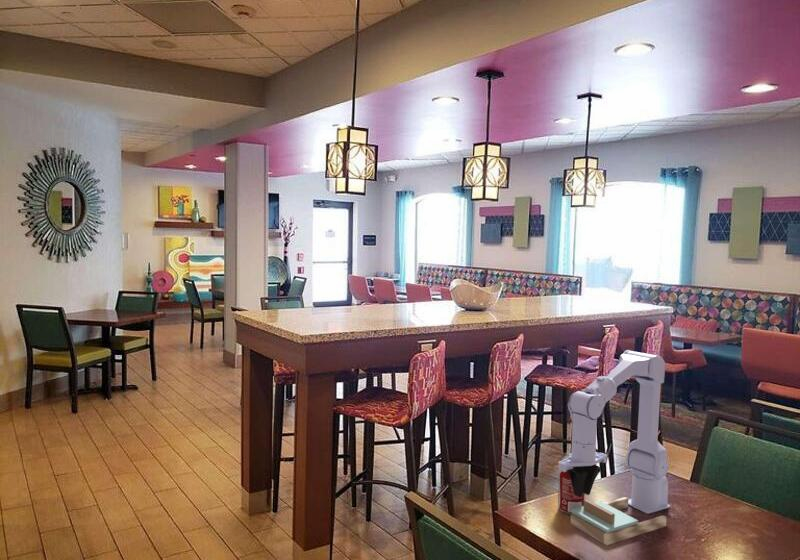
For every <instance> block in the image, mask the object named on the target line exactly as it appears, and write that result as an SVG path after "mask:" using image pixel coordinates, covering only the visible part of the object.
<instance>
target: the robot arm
mask: <svg viewBox="0 0 800 560" xmlns="http://www.w3.org/2000/svg"><path fill="white" fill-rule="evenodd" d="M665 370H666V361H665V360H664V359H663V357H662V356H660V355H659V354H650V353H645V352H638V351H635V350H632V349H627V350H624V352H623V353H622V354H620V356H619V360H618V364H617V365H616V366H615V367H614V368H613V369H612V370H611V371H610V372H609V373H608V374H607V375H606V376H605V375H602V376H600V375H598V377H596V379H595V380H594V381H592V382H591V383H590V384H589V385H588V386H586V387H585V388H584V389H583V390H582V391H581V390H578V391H575V392H573V393H572V394H571V395H570V397H569V398H568V399H569V400H568V402H567V407H568V408H567V409H568V411H569V413H570V417H569V418H570V420H571V421H572V422H571V423H572V428H571V429H572V430H571V431H572V432H571V449H570V450H571V452H570V453H569V454H568V455H569V456H568V457H566V458H565V459H562V460H560V461H558V462H557V463H558V466H557V468H558V470H559V471H560V470H561V471H563V472H566V471H567V473H568V475H569V477H570V479H571V483H572V486H573V491H574V494H575V495H577V496H578V497H582V495H583V493H585V495H587V496H590V495H591V493H592V490H593V485H594V482H595V480H596V479H597V477H598V475H599V474H600V472H601V470H602V469H601V466H598V465H597V464H600V463H603V464H606V463H607V462H608V454H606V453H603V452H597V428H598V425H597V424H598V418H599V417H600V416H601V414H602V413H603V410H604V408H605V406H606V403H607V402H608V401H610V399H612V398H613V397H614V396H615V395H616V394H617V391H618V390H617V387H618V386H620V385H622V384H623V383H624V382H626V381H627V380H628V379H630V378H631V377H633V378H634V379H635V380H636V382H638V383H639V399H638V400H639V401H638V415H637V416H638V419H637V421H638V422H637V439H634V440H633V441H631V442H630V443H628V449H627V453H626V457H625V463H626V466H627V467H628V468H629V469H630V470H629V472H630V473H632V478H631V479H632V480H631V498H628V506H631V507H632V508H635V509H637V510H639V511H641V512H642V513H644V514H647V515H648V514H652V513H656V512H659V511H662V510H666V509H669V508H670V507H671V506H670V504H668V498H669V497H668V495H669V483H668V479H667V477H666V475H667V474H668V471H669V465H670V464H669V460H668V450H667V449H666V448H665V447H664V446H663V444H661V443H660V441H659V440H658V437H659V436H658V435H659V422H660V421H659V420H660V419H659V418H660V402H661V401H660V398H661V385H662V384H664V383H665V375H666V373H665V372H666V371H665Z"/></svg>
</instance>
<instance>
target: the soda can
mask: <svg viewBox="0 0 800 560" xmlns="http://www.w3.org/2000/svg"><path fill="white" fill-rule="evenodd" d="M585 495H586V494H585V493H583V495H582V497H578V496H577V495H575V494H574V491H573V486H572V483H571V479H570V477H569V475H568V473H567V471H566V472H563V471H561V470H559V472H558V497H557V498H558V501H557V508H558V510H559V511H562V512H563V513H564V512H565V513H564V514H566V513H567V515H570V516H571V514H573V513H572V512H571V509H574V508H578V507H582V506H584V500H585Z"/></svg>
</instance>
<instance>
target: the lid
mask: <svg viewBox="0 0 800 560" xmlns="http://www.w3.org/2000/svg"><path fill="white" fill-rule="evenodd" d="M571 512H572V513H573V514H575V515H577V516H579V517H580V518H582V519H584V520H586V521H587V522H589V523H591V524H593V525H594V526H596V527H598V528H600V529H601V530H603V531H605V532H607V533H609V532H612V531H615V530H619V529H622V528H625V527H628V526H632V525H635V524H638V523H639V520H638V519H636V518H634V517H632V516H630V515H629V514H627V513H624V512H622V511H621V510H620V509H619V510H617V509H615V508H613V507H611V506H609V505H607V504H605V502H603V501H596V502H593V501H591V500H589V499H588V498H587V499H584V506H582V507H578V508H574V509H571Z"/></svg>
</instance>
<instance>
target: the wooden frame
mask: <svg viewBox="0 0 800 560" xmlns="http://www.w3.org/2000/svg"><path fill="white" fill-rule="evenodd" d="M628 500H629V498H628V497H626V496H623V497H620V498H617V499H613V500H612V499H611V500H610V501H606V502H604V503H605V504H607V505H609V506H611V507H613V508H615V509H617V510H619V511H620V510H624V509H626V508H629V505H628ZM570 524H571V525H572V526H574V527H576V528H577V529H578V530H581V532H584V533H585V534H587V535H589V536H590V537H592V538H594V539H595V540H598V541H599V542H600V543H602V544H604V545H605V546H608V545H612V544H615V543H618V542H621V541H624V540H627V539H630V538H631V539H632V538H634V537H636V536H637V537H638V536H639V535H643V534H646V533H650V532H652V531H656V530H658V529H662V528H666V527H667V516H666V515H660V516H657V517H653V518H650V519H647V520H643V521H640V522H639V521H638V524H635V525H632V526H628V527H625V528H622V529H619V530H615V531H612V532H609V533H607V532H605V531H603V530H601V529H600V528H598V527H596V526H594V525H593V524H591V523H589V522H587V521H586V520H584V519H582V518H580V517H579V516H577V515H575V514H571V515H570Z"/></svg>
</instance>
